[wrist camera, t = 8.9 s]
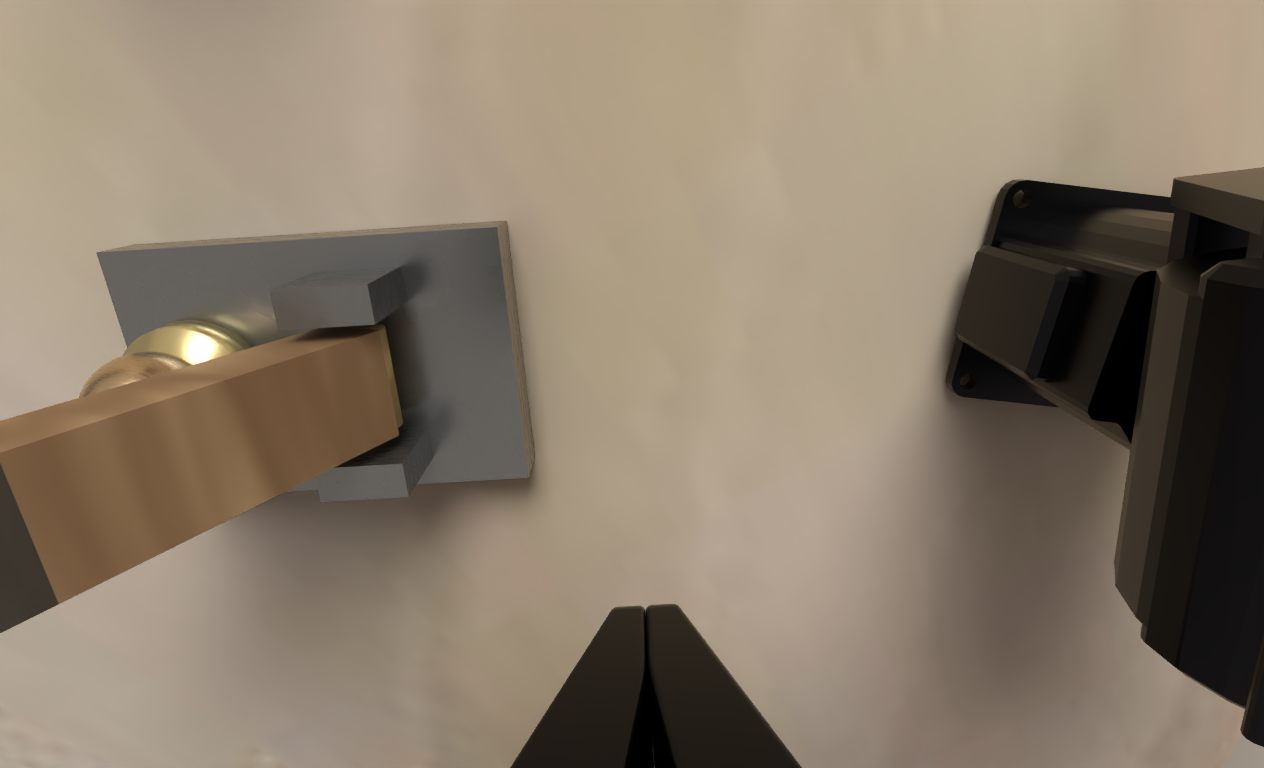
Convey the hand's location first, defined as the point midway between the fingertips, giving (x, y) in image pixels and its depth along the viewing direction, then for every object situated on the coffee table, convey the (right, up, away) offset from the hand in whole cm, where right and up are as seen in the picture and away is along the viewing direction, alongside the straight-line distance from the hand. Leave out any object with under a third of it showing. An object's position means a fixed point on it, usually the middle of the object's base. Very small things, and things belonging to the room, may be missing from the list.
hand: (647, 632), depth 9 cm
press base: (-9, +4, +12) cm, 16 cm away
